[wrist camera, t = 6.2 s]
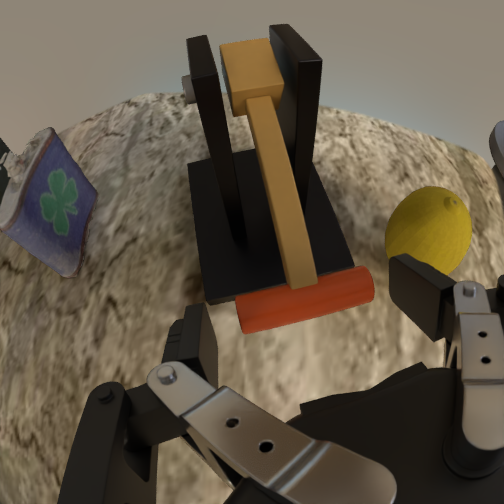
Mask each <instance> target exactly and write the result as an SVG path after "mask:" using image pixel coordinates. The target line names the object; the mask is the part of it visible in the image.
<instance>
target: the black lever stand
mask: <svg viewBox="0 0 504 504" xmlns="http://www.w3.org/2000/svg"><path fill="white" fill-rule="evenodd" d="M269 32H270V44H271V47H272V50H273V52H274V55H275V58H276V61H277V63H278V66H279V69H280V72H281V75H282V77H283V80H284V83H285V84H284V88H283V92H282V97H281V101H280V105H279V109H278V110H275V112H276V115H277V118H278V122H279V125H280V129H281V132H282V136H283V139H284V143H285V146H286V150H287V154H288V157H289V161H290V165H291V169H292V172H293V176H294V180H295V184H296V188H297V192H298V196H299V200H300V204H301V208H302V212H303V216H304V220H305V224H306V229H307V233H308V237H309V242H310V246H311V251H312V255H313V260H314V264H315V269H316V274H317V277H319V276H323V275H327V274H331V273H335V272H339V271H343V270H347V269H350V268H354V266H355V265H354V262H353V259H352V257H351V254H350V251H349V249H348V246H347V243H346V241H345V238H344V235H343V233H342V230H341V228H340V225H339V223H338V220H337V218H336V215H335V213H334V211H333V208H332V206H331V203H330V201H329V199H328V196H327V194H326V192H325V189H324V187H323V185H322V182H321V180H320V178H319V176H318V173H317V171H316V169H315V167H314V165H313V162H312V158H313V150H314V142H315V133H316V124H317V115H318V105H319V95H320V83H321V73H322V58H321V57H319V55H318V54H317V53H316V52H315V51H314V50H313V49H312V48H311V47H310V45H309V44H308V43H307V42H306V41H305V40H304V39H303V38H302V37H301V36H300V35H299V34H298V33H297V32H296V31H295V30H294V29H293V28H292V27H291V26H290V25H289V24H279V25H270V26H269ZM186 43H187V53H188V61H189V70H190V75H186V76H183V77H182V85H183V90H184V95H185V98H186V101H187V104H193V103H197V106H198V110H199V114H200V118H201V122H202V126H203V129H204V133H205V137H206V141H207V145H208V149H209V152H210V156H211V158H209V159H205V160H200V161H196V162H192V163H188V164H187V166H188V175H189V184H190V192H191V201H192V209H193V216H194V224H195V231H196V238H197V245H198V252H199V259H200V266H201V272H202V278H203V285H204V291H205V297H206V301H207V302H208V304H209V305H210V306H211V305H216V304H220V303H225V302H229V301H234V300H235V297H236V296H239V295H243V294H248V293H252V292H256V291H261V290H265V289H269V288H274V287H278V286H282V285H286V284H287V281H286V277H285V272H284V268H283V263H282V259H281V254H280V250H279V245H278V241H277V237H276V232H275V228H274V224H273V219H272V215H271V211H270V207H269V202H268V198H267V194H266V190H265V186H264V182H263V177H262V173H261V169H260V165H259V161H258V157H257V153H256V149H250V150H245V151H240V152H236V153H232V149H231V143H230V138H229V132H228V126H227V121H226V115H225V110H224V104H223V99H222V93H221V88H220V82H219V76H218V72H217V68H216V65H215V61H214V58H213V55H212V52H211V48H210V44H209V41H208V38H207V35H202V36H197V37H193V38H188V39H186Z"/></svg>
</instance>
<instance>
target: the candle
mask: <svg viewBox="0 0 504 504" xmlns="http://www.w3.org/2000/svg"><path fill="white" fill-rule="evenodd" d="M10 151H11V150H10V149H9V148H8V147H7V145H6V144H5V143H4V142H3V140H2V139H1V138H0V160H1V158H2V157H3V155H4V154H5V153H7V155H8V153H9V152H10ZM11 153H12V152H11ZM7 155H6V157H5V159H4V162H5V160H6V158H7ZM4 162H3V163H2V164H0V167H1V170H0V206H1V202H2V199H3V196H4V193H5V190H6V188H7V185H8V183H9V180H10V178H11V177H8V171H7V169H6V168H5V167H4V166H3V164H4Z"/></svg>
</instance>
